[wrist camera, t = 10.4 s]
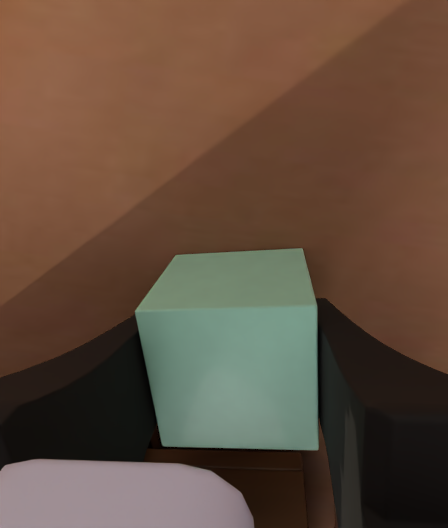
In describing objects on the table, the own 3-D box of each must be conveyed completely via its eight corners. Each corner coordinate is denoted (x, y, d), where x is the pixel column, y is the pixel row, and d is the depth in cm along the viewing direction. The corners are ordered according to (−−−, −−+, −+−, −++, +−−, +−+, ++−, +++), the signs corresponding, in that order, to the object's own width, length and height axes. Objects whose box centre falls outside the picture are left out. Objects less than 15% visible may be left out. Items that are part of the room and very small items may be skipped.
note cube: (302, 247, 12) (317, 305, 8) (305, 358, 14) (319, 451, 10) (175, 254, 13) (133, 310, 9) (191, 359, 14) (161, 447, 10)
